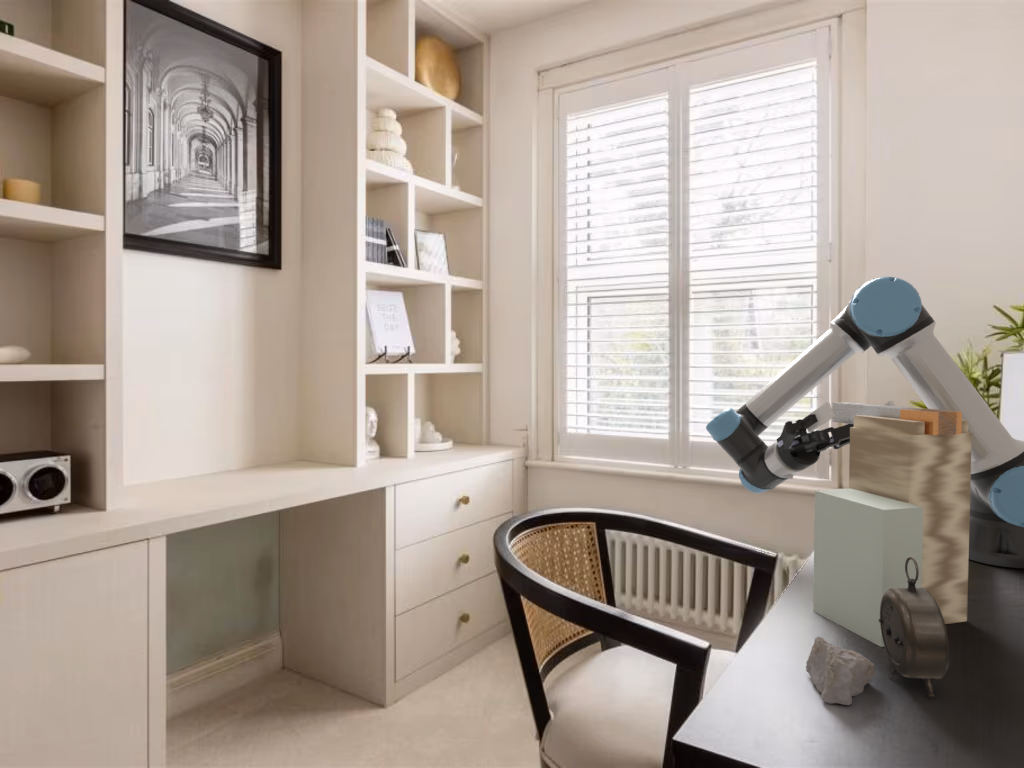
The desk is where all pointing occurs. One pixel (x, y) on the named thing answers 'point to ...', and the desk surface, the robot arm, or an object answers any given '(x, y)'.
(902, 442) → the stand
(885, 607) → the alarm clock
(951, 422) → the grey long bar
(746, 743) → the desk surface
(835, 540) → the pale green block
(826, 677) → the stone
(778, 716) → the desk surface
